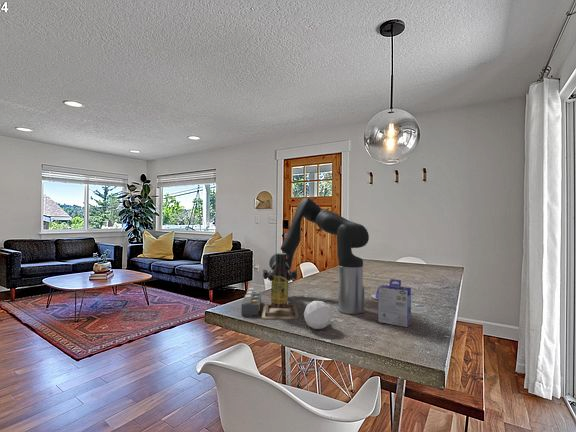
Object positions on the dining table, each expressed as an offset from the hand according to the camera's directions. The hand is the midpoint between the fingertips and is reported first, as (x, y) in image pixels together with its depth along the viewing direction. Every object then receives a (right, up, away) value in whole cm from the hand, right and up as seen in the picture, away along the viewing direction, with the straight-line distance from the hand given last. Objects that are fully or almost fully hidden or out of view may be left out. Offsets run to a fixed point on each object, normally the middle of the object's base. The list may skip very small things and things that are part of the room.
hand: (280, 278), depth 115 cm
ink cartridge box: (+39, -14, -8) cm, 42 cm away
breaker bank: (-11, -13, +8) cm, 19 cm away
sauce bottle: (0, -11, +2) cm, 11 cm away
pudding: (+46, -14, +26) cm, 55 cm away
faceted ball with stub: (+13, -14, -13) cm, 23 cm away
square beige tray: (0, -13, +2) cm, 14 cm away
